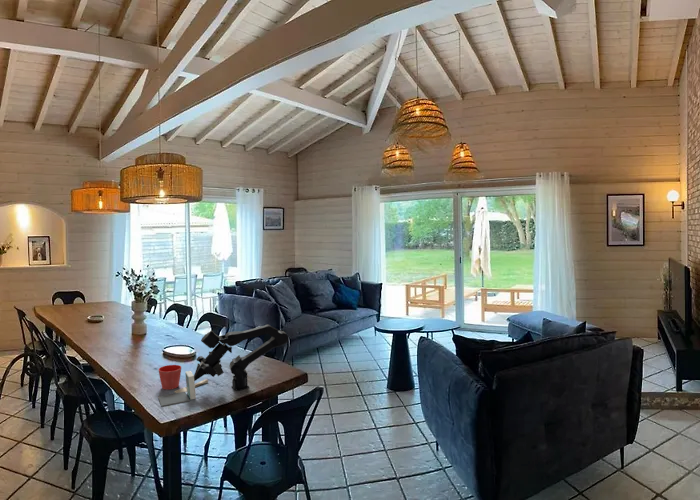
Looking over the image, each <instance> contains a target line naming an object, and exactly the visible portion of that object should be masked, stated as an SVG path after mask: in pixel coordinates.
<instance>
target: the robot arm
mask: <svg viewBox="0 0 700 500" xmlns="http://www.w3.org/2000/svg"><path fill="white" fill-rule="evenodd" d="M264 335H269V336H271V337H270V339H268V340H267V341H266V342H264V343H263V344H261V345H260V346H258V347H257V348H255V349H253V350H252V351H251V352H249V353H247V354H246V355H244V356H240V355H237V356H236V357H235V358H233V359H231V361H230V362H229V367H228V368H229V369H230V372H231V374H232V385H231V388H232V389H234V390H235V391H242V390H246V389H249V388H250V385H248V372H247V370H246V369H247V368H248V366H249V365H250V364H252V363H253V362H254V361H256V360H257V359H259V358H260V357H262V356H263V355H265V354H267V353H268V352H270V351H271V350H272V349H274V348H278V347H281V346H283V345H285V344H287V343H288V342H289V335H288V334H287V333H286V332H285V331H283V330H279V329H277V328H275V327H274V326H271V324H267V323H266V324H265V325H262V326H258V327H254V328H250V329H247V330H246V329H245V330H241V331H238V330H237V331H236V330H235V331H228V332H226V333H225V334H223V335H222V334H221V335H217V334H216V333H215V332H214V331H213V330H210V331H208V332H207V333H205V334H204V336H202V338H201V340H200V342H201V343H203V345H205V346H206V347H207V348H208V349H212V351H209V352H208V354H207V356H206V357H204V356H203V355H199V356H198V357H197V358H196V361H197V362H199V363H197V366H196V368H195V371H194V374H193V375H194V382H195V381H197V380H199V379H200V378H202V377H203V376H205V375H210V376H212V377H213V378H215V376H216V375H217V377H219V376H221V375H223V374H224V373H225V372H224V370H223V368H222V367H223V365H222V363H221V361H222V360H221V359H222V358H223V357H224V356H225V355H226V354H227V352H229V353H230V354H232V353H233V351H232V350H233V347H234V346H236V345H238V344H241V343H242V342H244V341H245V340H249V339H253V338H256V337H260V336H264Z"/></svg>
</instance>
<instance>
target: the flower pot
mask: <svg viewBox="0 0 700 500" xmlns="http://www.w3.org/2000/svg"><path fill="white" fill-rule="evenodd" d="M181 374H182V366H181V365H179V364H168V365H167V364H166V365H164V366H161V367H159V368H158V376H159V380H160V385H161V388H162V389H163V390H165V391H166V390H174V389H177V388H178V387H179V386H180V382H181Z"/></svg>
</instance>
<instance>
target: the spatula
mask: <svg viewBox="0 0 700 500" xmlns="http://www.w3.org/2000/svg"><path fill="white" fill-rule="evenodd" d="M206 383H209V379H207V378H205V379H203V380H200V381H198V382H195V388H197V387H200V386H202V385H205V384H206ZM180 392H186V393H187V386H186V387H185V386H184V387H181V388H180V389H179V388H178V389H177V390H175V391H173V393H174V394H175V393H180Z"/></svg>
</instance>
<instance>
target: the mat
mask: <svg viewBox="0 0 700 500" xmlns="http://www.w3.org/2000/svg"><path fill="white" fill-rule="evenodd" d="M157 399H158V401H159V404H160V407H161V408H163V407H169V406H173V405H178V404H182V403H189V402H190V400H191V399H190V398H189V396H188V394H187V392H180V393H175V392H174V393H170V394H165V395H164V394H163V395H159V396H157Z"/></svg>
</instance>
